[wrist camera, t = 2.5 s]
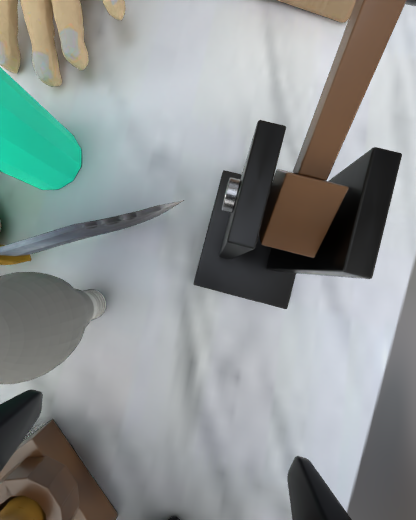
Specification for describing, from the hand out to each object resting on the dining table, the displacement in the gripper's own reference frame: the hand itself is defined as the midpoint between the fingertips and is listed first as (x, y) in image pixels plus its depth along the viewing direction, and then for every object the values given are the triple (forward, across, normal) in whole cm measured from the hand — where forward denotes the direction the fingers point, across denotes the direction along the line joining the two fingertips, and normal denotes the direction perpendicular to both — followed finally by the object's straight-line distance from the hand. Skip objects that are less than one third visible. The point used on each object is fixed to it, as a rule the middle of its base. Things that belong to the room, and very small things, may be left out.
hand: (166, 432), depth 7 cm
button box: (+7, +8, +19) cm, 22 cm away
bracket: (+13, -3, -6) cm, 15 cm away
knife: (+13, +14, -1) cm, 19 cm away
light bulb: (+12, +9, +3) cm, 15 cm away
